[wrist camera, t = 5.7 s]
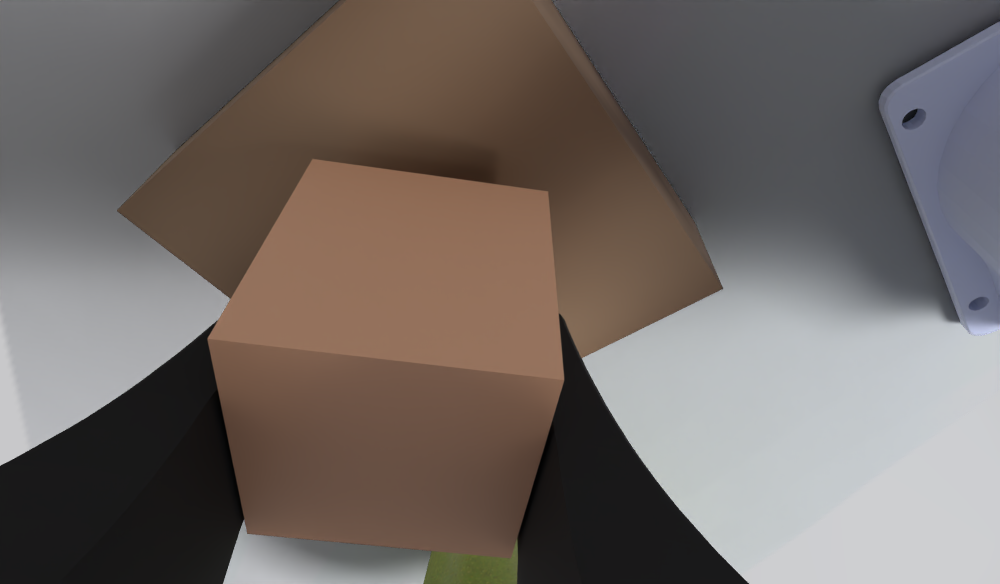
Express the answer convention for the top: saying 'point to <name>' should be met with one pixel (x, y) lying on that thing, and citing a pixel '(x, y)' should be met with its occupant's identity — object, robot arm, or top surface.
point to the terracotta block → (393, 362)
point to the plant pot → (471, 569)
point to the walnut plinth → (442, 150)
